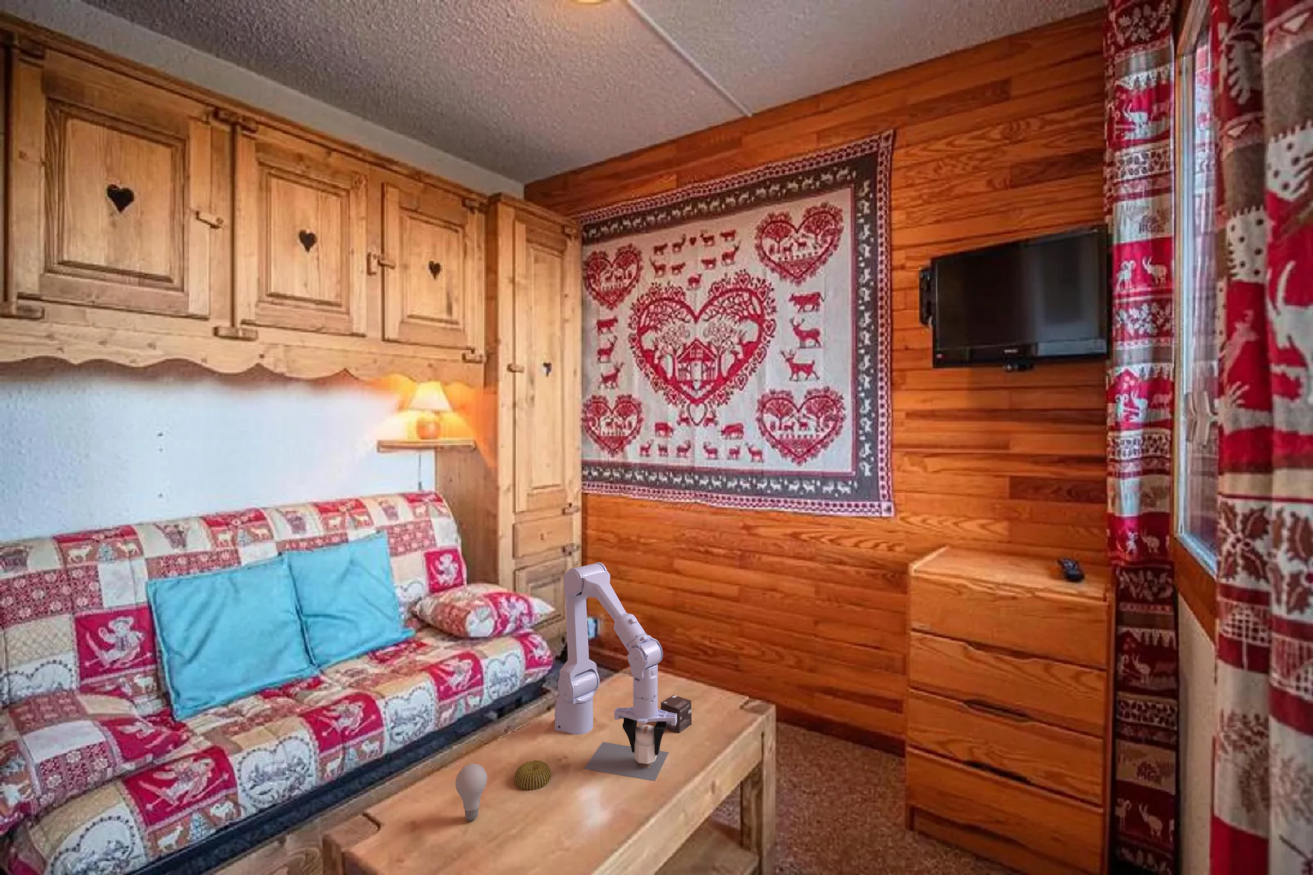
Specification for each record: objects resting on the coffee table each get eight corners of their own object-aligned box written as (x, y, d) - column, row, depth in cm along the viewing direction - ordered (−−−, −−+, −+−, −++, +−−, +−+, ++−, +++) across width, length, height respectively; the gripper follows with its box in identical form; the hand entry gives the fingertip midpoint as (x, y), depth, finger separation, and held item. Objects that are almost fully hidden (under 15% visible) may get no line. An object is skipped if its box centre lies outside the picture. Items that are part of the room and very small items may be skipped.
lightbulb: (476, 806, 125) (475, 754, 125) (493, 818, 121) (493, 764, 121) (449, 821, 120) (449, 767, 120) (467, 834, 116) (466, 778, 116)
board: (583, 773, 137) (583, 768, 137) (602, 745, 148) (602, 742, 148) (655, 785, 132) (655, 781, 132) (668, 756, 144) (668, 752, 143)
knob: (633, 762, 137) (632, 733, 137) (638, 750, 142) (638, 723, 141) (653, 764, 136) (653, 735, 136) (657, 753, 141) (657, 725, 140)
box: (678, 737, 152) (678, 709, 152) (659, 730, 156) (659, 702, 156) (692, 728, 157) (692, 700, 157) (673, 721, 161) (673, 694, 160)
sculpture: (526, 782, 127) (507, 766, 133) (526, 800, 127) (507, 784, 133) (558, 767, 132) (538, 752, 138) (558, 785, 133) (538, 770, 138)
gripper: (610, 698, 136) (610, 757, 136) (672, 704, 133) (673, 764, 133) (618, 685, 143) (619, 741, 143) (678, 690, 140) (678, 748, 140)
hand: (645, 751), depth 139 cm, fingers closed on knob, 5 cm apart
